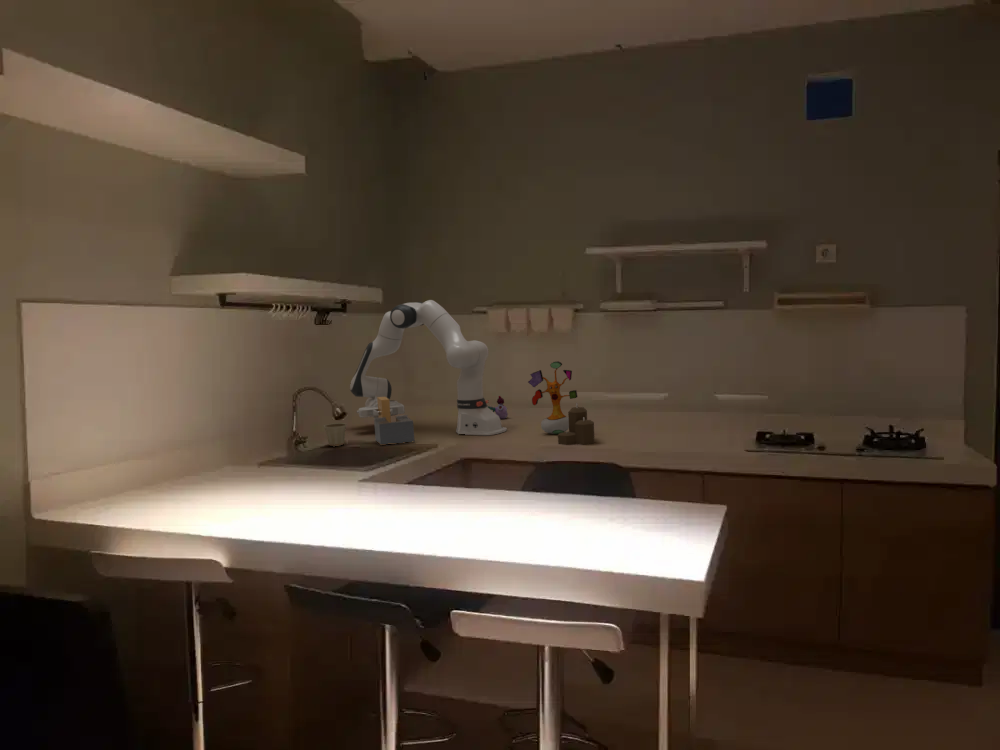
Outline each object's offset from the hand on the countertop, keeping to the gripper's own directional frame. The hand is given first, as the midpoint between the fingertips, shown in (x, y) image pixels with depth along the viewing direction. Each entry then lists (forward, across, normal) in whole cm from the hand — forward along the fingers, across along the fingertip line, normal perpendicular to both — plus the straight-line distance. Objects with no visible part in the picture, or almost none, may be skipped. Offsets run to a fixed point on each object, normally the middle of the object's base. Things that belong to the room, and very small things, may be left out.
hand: (384, 413), depth 366 cm
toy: (-11, +52, +10) cm, 54 cm away
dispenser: (+19, 0, +10) cm, 21 cm away
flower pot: (+13, -23, +10) cm, 28 cm away
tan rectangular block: (-1, 0, +8) cm, 8 cm away
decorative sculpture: (+41, +63, +9) cm, 76 cm away
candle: (+61, +64, +9) cm, 89 cm away
